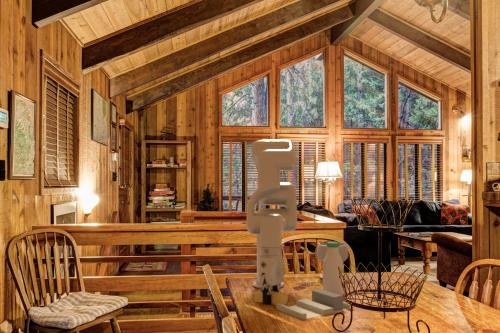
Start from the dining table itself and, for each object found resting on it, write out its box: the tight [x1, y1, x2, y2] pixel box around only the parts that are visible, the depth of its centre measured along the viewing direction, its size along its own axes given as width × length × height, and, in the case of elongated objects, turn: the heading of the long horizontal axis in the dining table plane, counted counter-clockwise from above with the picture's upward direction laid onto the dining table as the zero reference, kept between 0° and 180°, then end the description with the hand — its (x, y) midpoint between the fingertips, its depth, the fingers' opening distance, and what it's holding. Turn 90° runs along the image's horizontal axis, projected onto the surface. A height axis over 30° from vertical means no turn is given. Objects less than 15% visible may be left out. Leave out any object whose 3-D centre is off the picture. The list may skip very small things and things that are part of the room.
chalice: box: [316, 241, 349, 280], centre depth 209 cm, size 14×14×15 cm
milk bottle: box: [322, 241, 345, 296], centre depth 177 cm, size 8×8×20 cm
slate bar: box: [311, 288, 344, 311], centre depth 158 cm, size 11×4×4 cm, turn 32°
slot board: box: [275, 298, 351, 321], centre depth 155 cm, size 14×21×3 cm, turn 122°
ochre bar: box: [253, 289, 289, 306], centre depth 164 cm, size 11×4×4 cm, turn 57°
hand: (271, 303), depth 164 cm, fingers open, 4 cm apart
